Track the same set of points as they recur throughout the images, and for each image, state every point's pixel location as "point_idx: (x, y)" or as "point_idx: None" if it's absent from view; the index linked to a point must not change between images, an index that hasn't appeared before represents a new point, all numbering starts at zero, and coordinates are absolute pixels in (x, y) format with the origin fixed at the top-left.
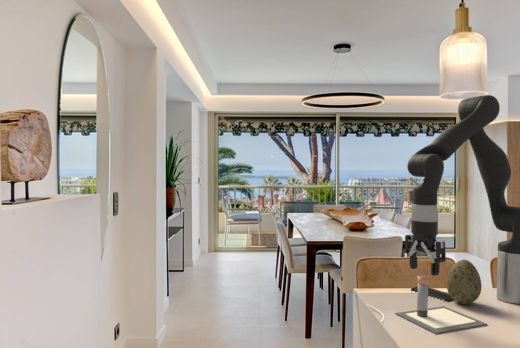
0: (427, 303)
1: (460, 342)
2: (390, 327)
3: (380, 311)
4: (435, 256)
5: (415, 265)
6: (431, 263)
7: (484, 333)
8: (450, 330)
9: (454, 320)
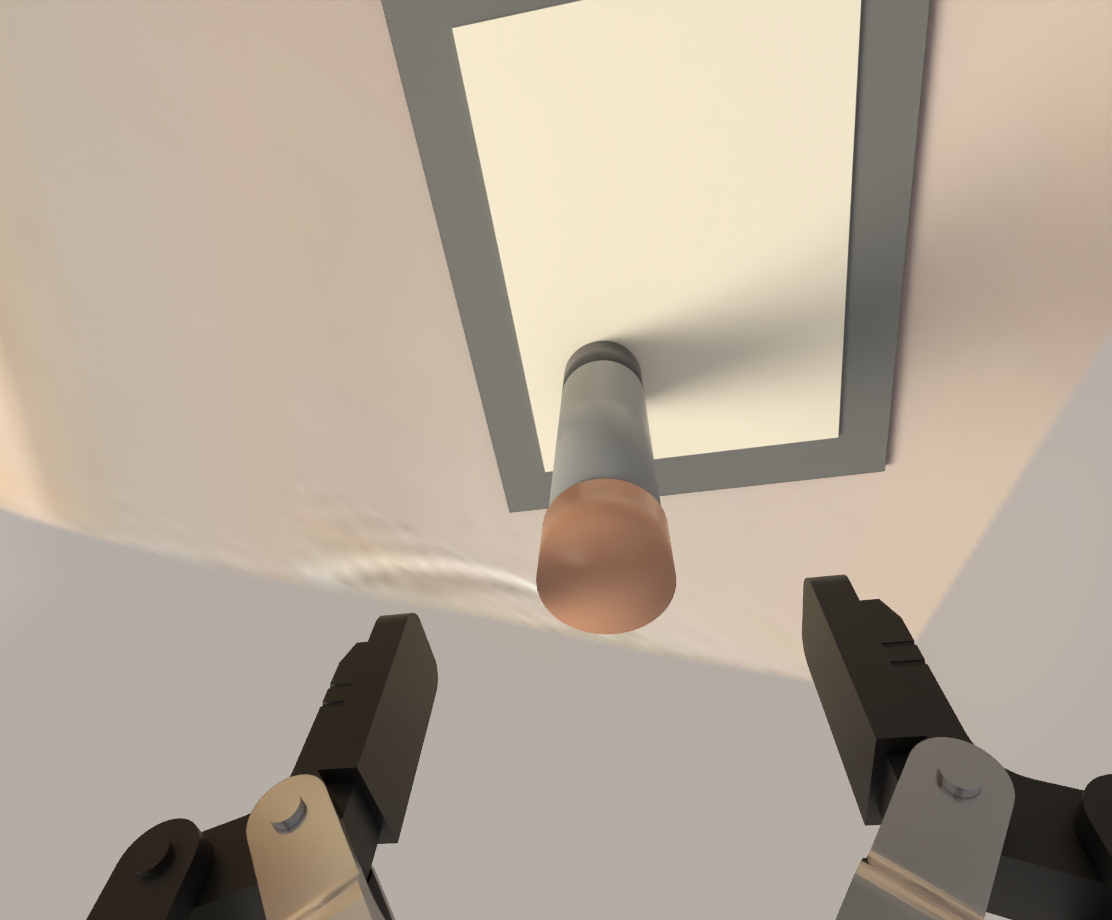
0: (642, 404)
1: (1051, 399)
2: (700, 631)
3: (449, 563)
4: (912, 885)
5: (409, 663)
6: (868, 815)
7: (1054, 71)
8: (895, 345)
9: (766, 175)
